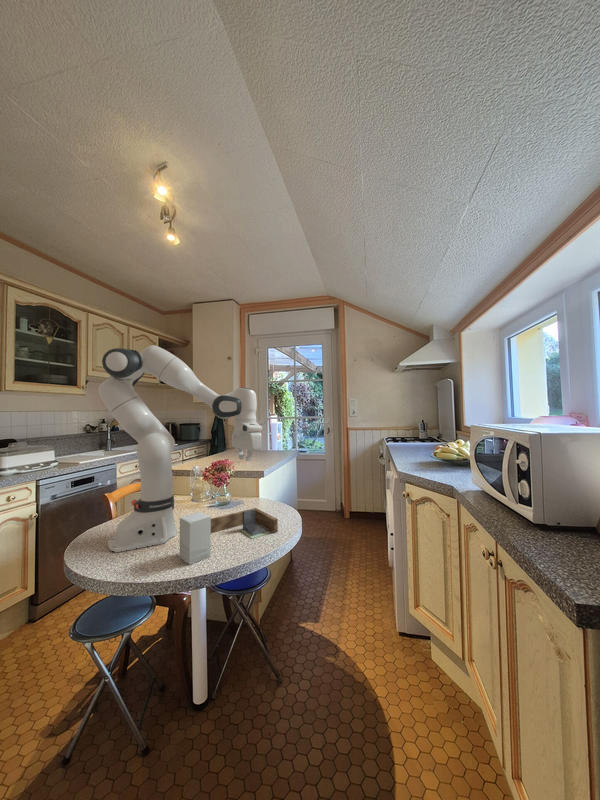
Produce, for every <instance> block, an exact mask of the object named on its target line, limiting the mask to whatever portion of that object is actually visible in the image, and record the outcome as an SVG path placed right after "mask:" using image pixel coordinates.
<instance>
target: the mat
mask: <svg viewBox="0 0 600 800" xmlns="http://www.w3.org/2000/svg"><path fill="white" fill-rule="evenodd" d="M239 531H240V532H241V533H243V534H244V535H246V536H247V537H248V538H250V540H251V539H252V540H253V539H257V538H260V537H263V536H266V535H269V532H268V531H266V530H264V533H261V534H258V535H255V536H252V535H250V534H249V533H247V532H246V531H244V530H243V528H239Z"/></svg>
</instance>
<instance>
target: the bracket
mask: <svg viewBox="0 0 600 800" xmlns="http://www.w3.org/2000/svg"><path fill="white" fill-rule="evenodd" d="M242 511H243V525H242V529H243V530H244V531H246V532H247V533H249V534H250V535H252V536H255V535H258V534H261V533H264V531H265V528H264V527H263V526H261V525H259V524H258V523H256V509H253V508H250V510H249V509H246V511H245V510H242Z"/></svg>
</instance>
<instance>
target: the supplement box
mask: <svg viewBox="0 0 600 800" xmlns="http://www.w3.org/2000/svg"><path fill="white" fill-rule="evenodd" d="M211 519H212V517H211V516H209V515H207V514H206V513H204V512H201V511H199V512H195V513H191V514H188V515H183V516H181V517H179V558H180V559H181V560H183V562H185V563H186V564H187V565H192V564H195V563H197V562H198V563H199V562H201V561H203V560H205V559H207V558H208V559H209V558H210V557H211V554H212V553H211V552H212V551H211V547H212V545H211V544H212V543H211V542H212V541H211V539H212V537H211V534H212V533H211Z"/></svg>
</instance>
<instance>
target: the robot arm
mask: <svg viewBox="0 0 600 800" xmlns="http://www.w3.org/2000/svg"><path fill="white" fill-rule="evenodd" d="M101 364H102V368H103V369H104V371H105V372H106V373H107V374H108V375H109V377H108V378H107V379H106V380H104V381H102V383H100V385H99V386H98V389H97V390H98V394H99V397H100V398H101V400H102V401H103V404H104V405H105V407H106V408H107V410H108V411H109V413H110V414H111V415H112V417H113V418H114V419H115V420H116V421H117V422H116V423H118V424H119V426H121V428H122V430H123V431H125V432H126V433H127V434H128V435H129V436H130V437H132V438H133V439H134V440H135V441H136V442H137V446H136V454H137V461H138V462H137V463H138V469H139V476H140V478H139V479H140V495H139V496H140V497H139V499H138V500H137V499H132V500H131V502H130V504H131V505H132V506H133V511H132V512H131V513H130V514H128V515H127V516H126V517H125V518H124V519H122V520H121V521H120V522H119V523H118V525H117V526H116V530H115V534H114V535H113V536H111V537H110V538H108V541H107V549H108V548H109V549H108V550H109V551H110V550H111V552H112V551H114V552H113V553H122V552H126V550H127V551H132V550H137V549H141V548H146V547H147V546H148V547H151V546H152V545H153V546H157V545H161V544H164V543H165V544H166V543H167V541H168V540H169V539H170V538H172V537H175V535H176V534H177V532H178V530H177V527H176V523H175V517H174V516H175V515H174V510H175V496H174V493H173V492H174V490H173V489H174V482H173V481H174V473H173V466H172V465H173V464H172V453H173V451H174V450H175V446H176V441H175V438H174V437H173V436H172V433H170V432H169V431H168V429H167V428H166V427H165V426H164V425H163V424H162V422H161V421H159V419H158V418H157V416H155V415H154V413H153V412H152V411H151V410H150V409H149V407H148V405H146V403H145V402H144V400H142V398H141V397H140V396H139V394H138V393H137V391H136V390H135V389H134V386H135V385H136V384H137V383H138V382H139V381H140V379H142V377H143V376H144V375H145V373H146V374H150V375H152V376H154V377H155V378H156V379H158V380H159V381H161V382H163V383H164V384H166V385H168V386H170V387H172V388H174V389H176V390H180V391H183V392H186V393H188V394H190V395H192V396H194V397H195V398H197V399H198V400H200V401H201V402H202V403H204V404H206V405H207V406H208V407H209V408H210V409H211V411H212V413H213V414H214V415H215V417H217V418H218V419H222V420H227V419H229V418H231V417H234V419H235V420H234V430H232V435H231V446H232V448H237V452H238V459H239V460H244V459H245V461H246V462H252V457H253V453H254V452H259V451H260V450H261V449H262V448H261V447H262V434H261V432H262V431H263V426H262V425H260V424H259V423H258V421H257V411H258V410H257V408H258V406H257V405H258V401H257V394H256V392H255V390H254V389H251V388H248V387H242V386H240V387H237V388H236V389H234V390H233V391H230V392H228V393H226V394H225V393H224V394H218V393H216V392H215V391H214V390H212V389H211V388H209V387H208V386H207V385H205V384H204V383H203V382H202V381H200V380H199V378H198V377H197V376H196V374H195V373H194V371H193V370H192V368H190V367H189V366H188V365H187V364H186V362H184V361H183V360H182V359H180V358H179V357H178V356H176V355H174V354H173V353H171V352H170V351H168V350H166V349H164V348H162V347H160V346H158V345H154V344H152V345H148V346H145V348H143V349H142V350H141V351H140V352H139V351H138V350H136V349H128V348H122V347H120V348H119V347H118V348H112V349H109V350H108V351H107V352H105V353H104V355H103V356H102V360H101ZM244 450H246V456H245V454H244ZM153 546H152V547H153ZM148 547H147V548H148ZM136 548H137V549H136ZM121 551H122V552H121Z"/></svg>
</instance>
